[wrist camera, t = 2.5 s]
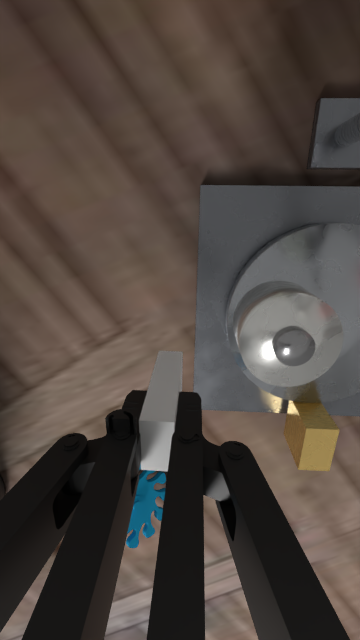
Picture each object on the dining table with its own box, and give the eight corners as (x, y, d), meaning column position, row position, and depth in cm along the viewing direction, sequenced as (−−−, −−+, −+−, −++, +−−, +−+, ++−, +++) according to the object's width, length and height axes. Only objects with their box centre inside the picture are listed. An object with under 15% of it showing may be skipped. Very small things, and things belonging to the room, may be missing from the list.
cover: (229, 357, 29) (237, 391, 24) (236, 279, 27) (247, 296, 21) (310, 360, 29) (338, 395, 23) (325, 281, 26) (360, 299, 21)
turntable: (217, 425, 34) (221, 465, 29) (232, 221, 27) (241, 222, 21) (373, 432, 34) (407, 474, 28) (436, 224, 26) (500, 226, 20)
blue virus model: (182, 507, 39) (120, 574, 34) (160, 491, 44) (102, 546, 38) (149, 438, 37) (78, 497, 32) (129, 429, 42) (64, 478, 37)
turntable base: (192, 403, 35) (192, 410, 34) (200, 186, 27) (200, 184, 26) (396, 411, 34) (404, 419, 33) (468, 189, 26) (482, 187, 25)
